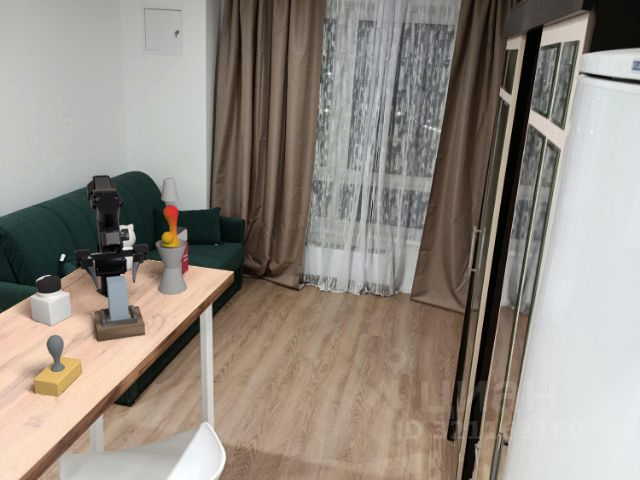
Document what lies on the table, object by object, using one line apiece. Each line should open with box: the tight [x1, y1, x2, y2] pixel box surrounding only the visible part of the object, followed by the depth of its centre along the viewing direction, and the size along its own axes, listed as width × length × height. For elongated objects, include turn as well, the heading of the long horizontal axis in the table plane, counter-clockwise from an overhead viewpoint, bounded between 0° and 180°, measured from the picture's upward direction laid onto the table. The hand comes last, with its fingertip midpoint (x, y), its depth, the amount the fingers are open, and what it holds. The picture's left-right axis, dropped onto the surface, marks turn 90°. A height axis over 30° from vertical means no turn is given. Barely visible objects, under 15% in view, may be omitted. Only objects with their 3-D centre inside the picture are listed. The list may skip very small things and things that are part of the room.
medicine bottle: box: [29, 274, 73, 327], centre depth 161 cm, size 7×7×12 cm
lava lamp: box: [155, 177, 188, 296], centre depth 179 cm, size 9×9×35 cm
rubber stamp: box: [33, 334, 83, 397], centre depth 132 cm, size 10×6×12 cm, turn 171°
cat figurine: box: [119, 223, 137, 272], centre depth 195 cm, size 9×12×15 cm
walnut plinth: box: [93, 304, 146, 343], centre depth 159 cm, size 12×12×4 cm
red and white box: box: [164, 226, 189, 275], centre depth 192 cm, size 11×4×15 cm, turn 168°
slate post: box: [106, 275, 129, 321], centre depth 156 cm, size 4×4×11 cm
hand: (116, 284), depth 157 cm, fingers open, 9 cm apart
